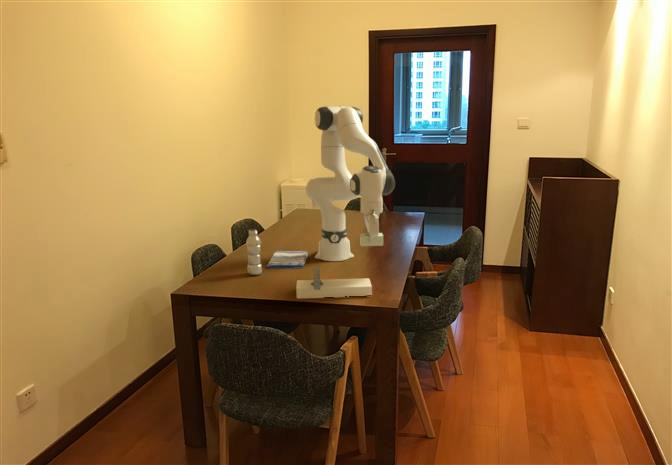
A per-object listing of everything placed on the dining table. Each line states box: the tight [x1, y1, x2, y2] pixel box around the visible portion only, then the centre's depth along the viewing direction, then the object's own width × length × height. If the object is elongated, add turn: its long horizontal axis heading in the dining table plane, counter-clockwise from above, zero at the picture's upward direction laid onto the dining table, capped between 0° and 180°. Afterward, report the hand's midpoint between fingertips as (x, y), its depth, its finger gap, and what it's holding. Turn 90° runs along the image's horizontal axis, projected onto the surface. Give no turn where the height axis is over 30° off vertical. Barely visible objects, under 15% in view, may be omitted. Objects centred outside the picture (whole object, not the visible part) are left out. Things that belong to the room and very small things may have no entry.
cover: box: [359, 231, 384, 247], centre depth 217 cm, size 5×9×5 cm, turn 92°
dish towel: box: [266, 250, 309, 269], centre depth 256 cm, size 17×24×3 cm
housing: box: [295, 277, 373, 300], centre depth 211 cm, size 10×29×4 cm, turn 93°
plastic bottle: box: [245, 228, 263, 276], centre depth 234 cm, size 6×7×20 cm
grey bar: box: [312, 265, 322, 290], centre depth 210 cm, size 3×20×4 cm, turn 2°
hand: (371, 241), depth 217 cm, fingers closed on cover, 5 cm apart
